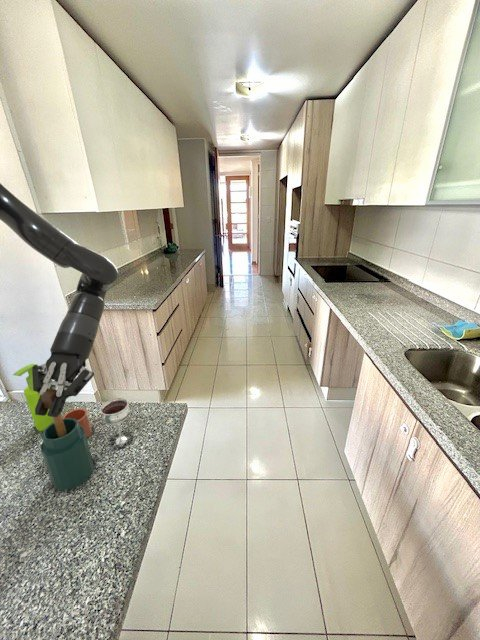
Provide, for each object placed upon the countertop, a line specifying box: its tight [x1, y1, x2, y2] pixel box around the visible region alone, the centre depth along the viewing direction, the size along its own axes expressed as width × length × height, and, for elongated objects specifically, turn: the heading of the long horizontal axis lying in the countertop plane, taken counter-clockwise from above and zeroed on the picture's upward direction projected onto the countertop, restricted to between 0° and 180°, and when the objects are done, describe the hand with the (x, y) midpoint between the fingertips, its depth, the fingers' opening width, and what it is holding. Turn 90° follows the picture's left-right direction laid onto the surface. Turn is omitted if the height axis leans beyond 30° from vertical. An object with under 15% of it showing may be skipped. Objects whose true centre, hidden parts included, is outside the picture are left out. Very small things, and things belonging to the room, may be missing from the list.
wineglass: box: [99, 397, 131, 445], centre depth 69 cm, size 7×7×12 cm
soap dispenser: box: [12, 362, 54, 432], centre depth 72 cm, size 6×7×20 cm
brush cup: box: [62, 408, 93, 439], centre depth 71 cm, size 6×6×7 cm
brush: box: [41, 389, 67, 438], centre depth 57 cm, size 3×3×20 cm
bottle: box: [40, 418, 94, 491], centre depth 59 cm, size 8×8×14 cm
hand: (46, 415), depth 53 cm, fingers closed on brush, 2 cm apart
